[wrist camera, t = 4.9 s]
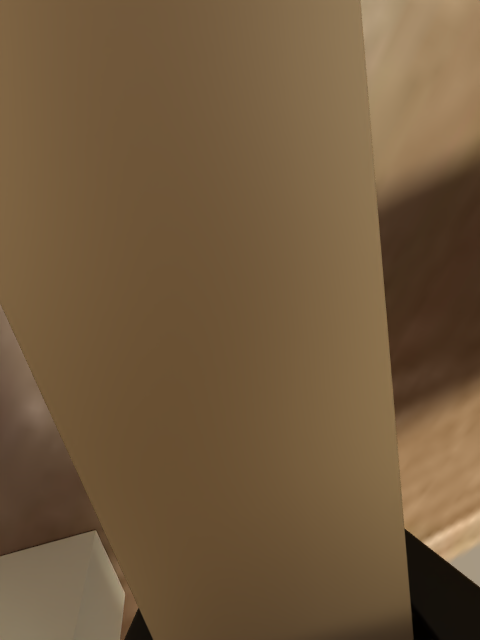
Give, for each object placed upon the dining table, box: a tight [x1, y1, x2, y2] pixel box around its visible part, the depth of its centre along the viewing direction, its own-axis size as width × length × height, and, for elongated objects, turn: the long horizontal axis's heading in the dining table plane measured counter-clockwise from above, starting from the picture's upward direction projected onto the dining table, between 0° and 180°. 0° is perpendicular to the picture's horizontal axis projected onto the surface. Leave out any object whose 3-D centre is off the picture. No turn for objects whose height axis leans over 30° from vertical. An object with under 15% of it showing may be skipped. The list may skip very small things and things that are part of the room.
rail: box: [0, 0, 414, 640], centre depth 7 cm, size 3×22×3 cm, turn 12°
